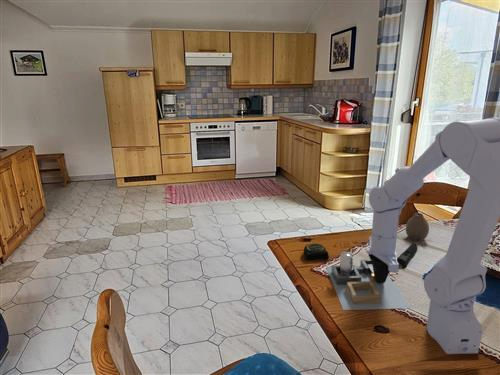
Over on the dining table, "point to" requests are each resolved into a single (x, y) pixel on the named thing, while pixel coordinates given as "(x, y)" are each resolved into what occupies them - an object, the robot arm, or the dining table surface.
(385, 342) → the dining table surface
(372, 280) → the key
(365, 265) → the socket
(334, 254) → the dining table surface
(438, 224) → the dining table surface
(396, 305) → the board
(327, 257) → the tape measure
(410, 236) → the vase
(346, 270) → the frosted capsule tube
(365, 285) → the brown piece
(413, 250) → the electric trimmer
